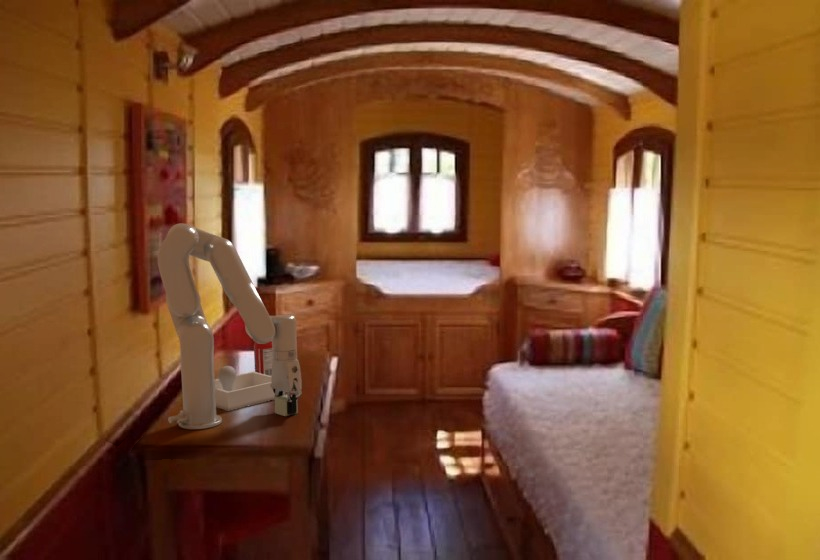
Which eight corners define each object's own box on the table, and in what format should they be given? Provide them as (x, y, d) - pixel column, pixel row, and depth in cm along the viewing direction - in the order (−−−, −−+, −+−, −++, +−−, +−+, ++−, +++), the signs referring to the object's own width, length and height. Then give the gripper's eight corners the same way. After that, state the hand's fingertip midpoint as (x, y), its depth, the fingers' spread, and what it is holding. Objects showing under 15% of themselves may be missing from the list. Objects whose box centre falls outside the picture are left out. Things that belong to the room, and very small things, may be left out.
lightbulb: (233, 401, 258) (232, 368, 256) (215, 400, 258) (214, 367, 257) (240, 396, 264) (239, 364, 262) (222, 395, 264) (221, 363, 263)
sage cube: (284, 416, 243) (284, 400, 242) (275, 413, 246) (274, 397, 246) (297, 412, 246) (297, 397, 246) (287, 409, 250) (287, 394, 249)
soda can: (267, 383, 284) (265, 342, 283) (250, 380, 288) (249, 340, 287) (281, 378, 291) (279, 338, 289) (265, 376, 295) (263, 336, 293)
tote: (228, 411, 250) (227, 392, 249) (198, 401, 262) (197, 383, 262) (285, 397, 265) (284, 379, 265) (254, 388, 278) (253, 371, 277)
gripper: (311, 356, 241) (312, 414, 243) (278, 349, 253) (279, 404, 255) (291, 360, 236) (293, 420, 238) (258, 352, 247) (260, 409, 249)
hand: (286, 411), depth 246 cm, fingers closed on sage cube, 5 cm apart
